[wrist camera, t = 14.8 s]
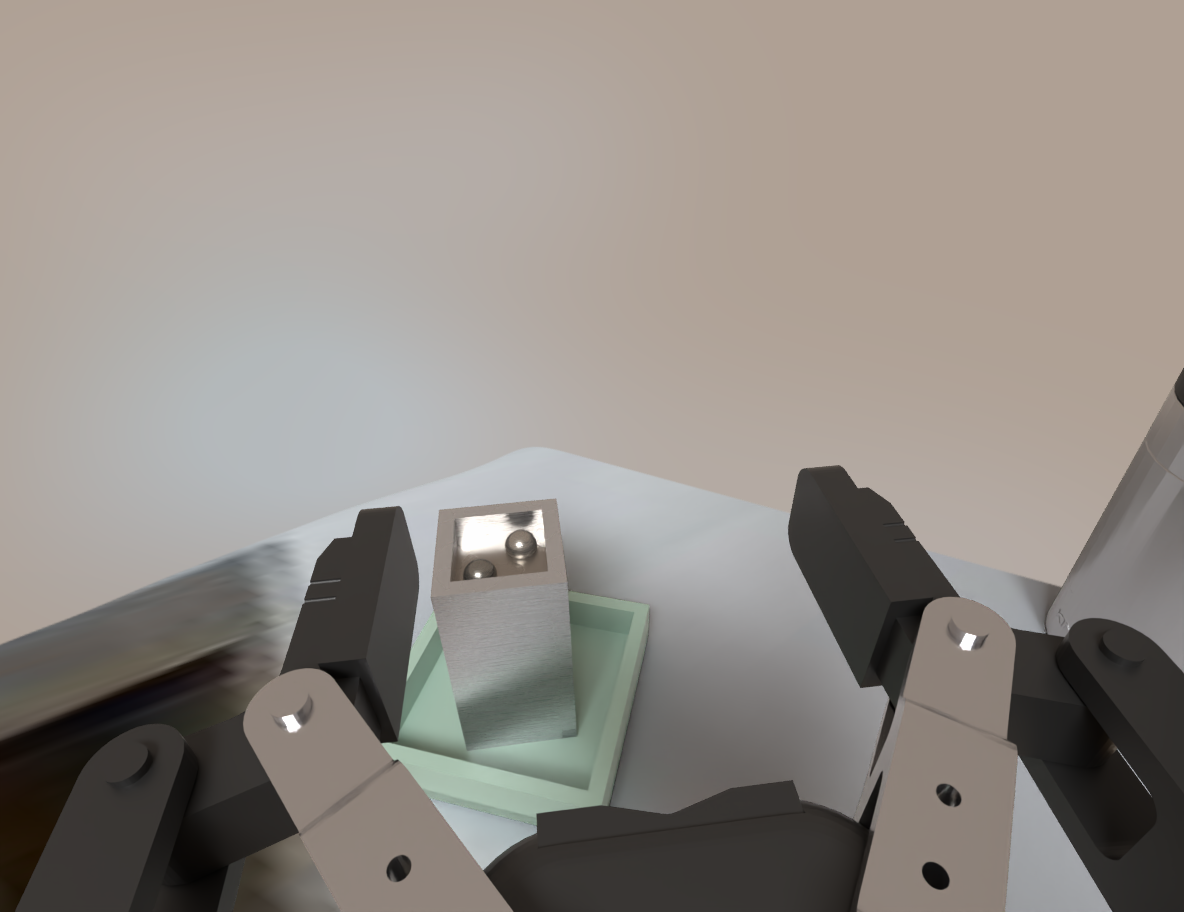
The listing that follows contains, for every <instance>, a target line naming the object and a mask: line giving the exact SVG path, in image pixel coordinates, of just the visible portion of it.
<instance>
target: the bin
mask: <svg viewBox="0 0 1184 912" xmlns="http://www.w3.org/2000/svg"><path fill="white" fill-rule="evenodd" d="M568 599H569V615H570V632H571V648H572V664H573V681H574V697H575V713H576V730H577V737H569V738H562V739H554V740H547V741H539V742H531V743H524V744H516V745H509V746H501V747H494V748H486V749H478V750H471V751H467V749H466V745H465V741H464V737H463V732H462V728H461V724H460V720H459V715H458V711H457V707H456V703H455V698H454V694H453V690H452V686H451V681H450V677H449V673H448V669H447V664H446V660H445V656H444V652H443V647H442V643H441V639H440V635H439V630H438V626H437V622H436V618H435V613H434V611H433V613H432V614H431V616H430V618H429V619H428V621H427V623H426V625H425V626H424V628H423V630H422V631H421V633H420V635H419V636H418V638H417V640H416V642H415V643H414V645H413V647H412V648H411V651H410V658H409V665H408V672H407V680H406V687H405V694H404V701H403V709H402V716H401V723H400V730H399V738H398V742H390V743H381V744H382V745H383V747H384V748H385V750H386V751H387V752H388V754H389V755H390V756H391V757H392V759H393V760H396V759H398V760H399V761H400V762H402V764H403V765H404V766H405V767H406V768H407V769H408V771H409V772H410V773H411V775H412V776H413V777H414V779H415V780H416V781H417V783H418V784H419V785H420V787H421V788H422V789H423V791H424V792H425V793H426V795H427V796H428V797H429V798H432V799H435V800H439V801H443V802H447V803H451V804H455V805H459V806H463V807H466V808H470V809H474V810H478V811H482V812H486V813H490V814H493V815H497V816H501V817H505V818H509V819H513V820H517V821H520V822H524V823H528V824H532V825H536V826H537V817H536V813H544V812H552V811H559V810H567V809H575V808H583V807H590V806H598V805H603V806H609V805H610V801H611V796H612V792H613V788H614V783H615V779H616V775H617V770H618V766H619V762H620V757H621V753H622V748H623V744H624V740H625V735H626V731H627V727H628V722H629V718H630V714H631V709H632V705H633V700H634V696H635V692H636V687H637V683H638V679H639V674H640V670H641V666H642V661H643V657H644V653H645V648H646V644H647V639H648V628H649V605H647V604H642V603H636V602H630V601H624V600H619V599H613V598H607V597H602V596H596V595H590V594H585V593H579V592H573V591H568Z"/></svg>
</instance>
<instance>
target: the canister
mask: <svg viewBox="0 0 1184 912" xmlns="http://www.w3.org/2000/svg"><path fill="white" fill-rule="evenodd" d="M431 601H432V605H433V609H434V613H435V618H436V622H437V626H438V630H439V635H440V639H441V643H442V647H443V652H444V656H445V660H446V664H447V669H448V673H449V677H450V681H451V686H452V690H453V694H454V698H455V703H456V707H457V711H458V715H459V720H460V724H461V728H462V732H463V737H464V741H465V745H466V749H467V751H471V750H478V749H486V748H494V747H501V746H509V745H516V744H524V743H531V742H539V741H547V740H554V739H562V738H569V737H577V730H576V713H575V697H574V681H573V664H572V648H571V632H570V615H569V599H568V583H567V575H566V567H565V560H564V553H563V545H562V538H561V530H560V523H559V516H558V508H557V501H556V499H547V500H537V501H526V502H516V503H506V504H496V505H485V506H475V507H465V508H455V509H444V510H439V518H438V528H437V538H436V548H435V558H434V568H433V579H432V589H431Z"/></svg>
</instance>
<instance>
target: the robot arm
mask: <svg viewBox="0 0 1184 912" xmlns="http://www.w3.org/2000/svg"><path fill="white" fill-rule="evenodd" d="M788 535H789V543H790V547H791V550H792V553H793V555H794V557H795V559H796V561H797V563H798V565H799V567H800V569H801V571H802V573H803V575H804V577H805V579H806V581H807V583H808V585H809V587H810V589H811V591H812V593H813V595H814V597H815V599H816V601H817V603H818V605H819V607H820V609H821V611H822V613H823V615H824V617H825V619H826V621H827V623H828V625H829V627H830V629H831V631H832V633H833V635H834V637H835V639H836V641H837V643H838V645H839V647H840V649H841V651H842V652H843V654H844V656H845V658H846V660H847V662H848V664H849V666H850V668H851V670H852V672H853V674H854V676H855V678H856V680H857V682H858V684H859V686H860V688H864V687H872V686H881V685H883V687H884V689H885V691H886V693H887V695H888V696H889V698H888V701H887V703H886V706H885V709H884V713H883V717H882V721H881V724H880V728H879V732H878V736H877V739H876V743H875V747H874V751H873V754H872V758H871V762H870V766H869V770H868V773H867V777H866V781H865V785H864V788H863V791H862V795H861V798H860V801H859V804H858V807H857V810H856V813H855V816H854V819H851V818H849V817H847V816H845V815H844V814H842V813H840V812H837V811H835V810H832V809H830V808H827V807H825V806H822V805H818V804H815V803H811V802H807V801H801V800H799V797H798V794H797V791H796V789H795V786H794V783H793V780H791V781H784V782H776V783H768V784H760V785H753V786H745V787H737V788H730V789H728V790H726V791H724V792H721V793H719V794H717V795H714V796H712V797H710V798H708V799H705V800H703V801H701V802H698V803H696V804H694V805H691V806H689V807H687V808H685V809H682V810H680V811H678V812H675V813H672V814H660V813H653V812H646V811H639V810H631V809H624V808H617V807H610V806H603V805H598V806H590V807H583V808H575V809H567V810H559V811H552V812H544V813H536V817H537V833H536V834H534V835H532V836H529V837H527V838H525V839H523V840H521V841H520V842H518V843H516V844H515V845H513V846H511V847H510V848H508V849H507V850H506V851H504V852H503V853H502V854H501V855H499V856H498V857H497V858H496V859H495V860H494V861H493V862H491V863H490V864H489V865H488V866H487V867H486V868H485V869H484V870H482V869H481V867H480V866H479V865H478V863H477V862H476V861H475V859H474V858H473V857H472V855H471V854H470V853H469V851H468V850H467V849H466V847H465V846H464V845H463V843H462V842H461V841H460V839H459V838H458V836H457V835H456V834H455V832H454V831H453V830H452V828H451V827H450V826H449V824H448V823H447V822H446V820H445V819H444V818H443V816H442V815H441V814H440V812H439V811H438V810H437V808H436V807H435V806H434V804H433V803H432V801H431V800H430V799H429V797H428V796H427V795H426V793H425V792H424V791H423V789H422V788H421V787H420V785H419V784H418V783H417V781H416V780H415V779H414V777H413V776H412V775H411V773H410V772H409V771H408V769H407V768H406V767H405V766H404V765H403V764H402V762H400V761H399V760H398V759H396V760H393V759H392V757H391V756H390V755H389V754H388V752H387V751H386V750H385V748H384V747H383V745H382V744H381V743H390V742H398V738H399V730H400V723H401V716H402V709H403V701H404V694H405V687H406V680H407V672H408V665H409V658H410V651H411V643H412V636H413V629H414V622H415V614H416V607H417V600H418V592H419V573H418V565H417V560H416V556H415V553H414V549H413V545H412V542H411V538H410V534H409V531H408V527H407V523H406V520H405V516H404V513H403V510H402V508H401V507H400V506H395V507H385V508H374V509H364V510H361V511H360V512H359V514H358V517H357V521H356V524H355V528H354V532H353V535H352V537H347V538H337V539H334V540H333V541H332V542H331V543H330V545H329V546H328V547H327V548H326V549H325V551H324V552H323V553H322V554H321V555H320V556H319V558H318V559H317V561H316V565H315V568H314V571H313V574H312V577H311V580H310V583H311V584H310V586H308V590H307V593H306V596H305V599H304V600H305V604H303V605H302V608H301V611H300V614H299V618H298V621H297V624H296V627H295V630H294V633H293V636H292V639H291V643H290V646H289V649H288V652H287V655H286V658H285V661H284V664H283V667H282V670H281V673H280V675H279V677H277V678H275V679H273V680H272V681H270V682H269V683H268V684H266V685H265V686H264V687H263V688H262V689H261V690H260V691H259V692H258V693H257V694H256V695H255V696H254V697H253V699H252V700H251V702H250V703H249V705H248V707H247V709H246V711H245V712H243V713H241V714H239V715H238V716H235V717H233V718H231V719H229V720H226V721H224V722H221V723H219V724H216V725H213V726H211V727H208V728H206V729H203V730H201V731H198V732H195V733H193V734H190V735H188V736H185V737H182V735H181V734H180V733H179V732H178V731H177V730H176V729H175V728H173V727H171V726H168V725H165V724H149V725H144V726H140V727H137V728H134V729H132V730H129V731H127V732H125V733H123V734H121V735H119V736H118V737H116V738H115V739H113V740H111V741H110V742H109V743H107V744H106V745H105V746H103V747H102V748H101V749H100V750H99V751H98V752H97V753H96V754H95V755H94V756H93V757H92V758H91V759H90V760H89V761H88V763H87V764H86V766H85V767H84V768H83V770H82V772H81V773H80V775H79V777H78V779H77V781H76V783H75V785H74V787H73V790H72V792H71V794H70V796H69V798H68V800H67V802H66V804H65V807H64V809H63V811H62V813H61V815H60V817H59V819H58V821H57V824H56V826H55V828H54V830H53V832H52V834H51V836H50V838H49V841H48V843H47V845H46V847H45V849H44V851H43V853H42V855H41V858H40V860H39V862H38V864H37V866H36V868H35V870H34V872H33V875H32V877H31V879H30V881H29V883H28V885H27V887H26V889H25V892H24V894H23V896H22V898H21V900H20V902H19V904H18V906H17V909H16V911H15V912H233V908H234V904H235V900H236V895H237V891H238V887H239V883H240V878H241V874H242V870H243V866H244V862H245V857H247V856H249V855H251V854H253V853H255V852H258V851H260V850H262V849H264V848H266V847H268V846H271V845H273V844H275V843H277V842H279V841H281V840H284V839H286V838H288V837H290V836H292V835H294V834H297V833H300V834H299V835H300V837H301V839H302V841H303V843H304V845H305V847H306V849H307V851H308V852H309V854H310V856H311V858H312V860H313V861H314V863H315V865H316V867H317V869H318V870H319V872H320V874H321V876H322V878H323V880H324V881H325V883H326V885H327V887H328V889H329V890H330V892H331V894H332V896H333V898H334V899H335V901H336V903H337V905H338V907H339V908H340V910H341V912H1005V904H1006V892H1007V880H1008V868H1009V856H1010V844H1011V832H1012V820H1013V808H1014V796H1015V784H1016V772H1017V758H1018V755H1019V757H1020V758H1021V760H1022V762H1023V763H1024V765H1025V767H1026V768H1027V770H1028V772H1029V773H1030V775H1031V777H1032V778H1033V780H1034V782H1035V783H1036V785H1037V787H1038V788H1039V790H1040V792H1041V793H1042V795H1043V797H1044V798H1045V800H1046V802H1047V803H1048V805H1049V807H1050V808H1051V810H1052V812H1053V813H1054V815H1055V817H1056V818H1057V820H1058V822H1059V823H1060V825H1061V827H1062V828H1063V830H1064V832H1065V833H1066V835H1067V837H1068V838H1069V840H1070V842H1071V843H1072V845H1073V847H1074V848H1075V850H1076V852H1077V853H1078V855H1079V857H1080V858H1081V860H1082V862H1083V863H1084V865H1085V867H1086V868H1087V870H1088V872H1089V873H1090V875H1091V877H1092V878H1093V880H1094V882H1095V883H1096V885H1097V887H1098V888H1099V890H1100V892H1101V893H1102V895H1103V897H1104V898H1105V900H1106V902H1107V903H1108V905H1109V907H1110V908H1111V910H1112V912H1184V368H1183V370H1182V372H1181V374H1180V376H1179V377H1178V379H1177V381H1176V383H1175V385H1174V386H1173V388H1172V390H1171V391H1170V393H1169V395H1168V397H1167V399H1166V401H1165V402H1164V404H1163V406H1162V408H1161V410H1160V411H1159V413H1158V415H1157V417H1156V419H1155V420H1154V422H1153V424H1152V426H1151V427H1150V430H1149V431H1148V433H1147V435H1146V437H1145V439H1144V441H1143V442H1142V444H1141V446H1140V448H1139V450H1138V451H1137V453H1136V455H1135V457H1134V459H1133V460H1132V462H1131V464H1130V466H1129V468H1128V469H1127V471H1126V473H1125V475H1124V477H1123V478H1122V480H1121V482H1120V484H1119V486H1118V487H1117V489H1116V491H1115V493H1114V495H1113V496H1112V498H1111V500H1110V502H1109V503H1108V505H1107V507H1106V509H1105V511H1104V512H1103V514H1102V516H1101V518H1100V520H1099V522H1098V523H1097V525H1096V527H1095V529H1094V530H1093V532H1092V534H1091V536H1090V538H1089V539H1088V541H1087V543H1086V545H1085V547H1084V549H1083V550H1082V552H1081V554H1080V556H1079V558H1078V559H1077V561H1076V563H1075V565H1074V567H1073V568H1072V570H1071V572H1070V573H1069V576H1068V577H1067V579H1066V581H1065V583H1064V585H1063V586H1062V588H1061V590H1060V592H1059V594H1058V595H1057V597H1056V599H1055V601H1054V602H1053V604H1052V606H1051V608H1050V610H1049V611H1048V613H1047V618H1046V628H1047V633H1048V634H1042V633H1036V632H1029V631H1023V630H1017V629H1013V628H1010V627H1009V625H1008V624H1007V623H1006V622H1005V620H1004V619H1003V618H1002V617H1000V616H999V615H998V614H997V613H996V612H994V611H993V610H991V609H990V608H988V607H986V606H984V605H982V604H980V603H978V602H975V601H972V600H969V599H965V598H960V596H959V595H958V594H957V592H956V591H955V590H954V588H953V587H952V586H951V584H950V583H949V582H948V580H947V579H946V578H945V576H944V575H943V573H942V572H941V571H940V569H939V568H938V567H937V565H936V564H935V563H934V561H933V560H932V559H931V557H930V556H929V555H928V553H927V552H926V550H925V549H924V548H923V547H922V545H921V544H920V542H919V541H916V539H915V538H916V537H915V536H914V535H913V533H912V532H911V530H910V529H909V528H908V526H905V525H904V521H903V519H902V518H901V517H900V515H899V514H898V513H897V511H896V510H895V509H894V507H893V506H892V505H891V503H889V502H888V501H887V500H885V499H884V498H883V497H881V496H880V495H878V494H877V493H875V492H874V491H873V490H871V489H870V488H857V487H856V485H855V484H854V482H853V481H852V479H851V478H850V476H849V475H848V474H847V472H846V471H845V469H844V468H843V467H841V466H839V465H838V466H826V467H815V468H806V469H802V470H801V471H800V473H799V475H798V479H797V484H796V489H795V495H794V500H793V504H792V509H791V514H790V520H789V525H788ZM1117 748H1118V750H1119V751H1120V752H1121V754H1122V755H1123V756H1124V758H1125V759H1126V761H1127V762H1128V763H1129V765H1130V766H1131V767H1132V769H1133V770H1134V771H1135V773H1136V774H1137V776H1138V777H1139V778H1140V780H1141V781H1142V782H1143V784H1144V785H1145V786H1146V788H1147V789H1148V791H1149V792H1150V794H1151V796H1152V797H1151V796H1150V794H1149V793H1148V791H1147V790H1146V789H1145V787H1144V786H1143V785H1142V783H1141V782H1140V781H1139V779H1138V778H1137V776H1136V775H1135V774H1134V772H1133V771H1132V770H1131V768H1130V767H1129V765H1128V764H1127V763H1126V761H1125V760H1124V759H1123V757H1122V756H1121V755H1120V753H1119V752H1118V750H1117Z"/></svg>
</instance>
